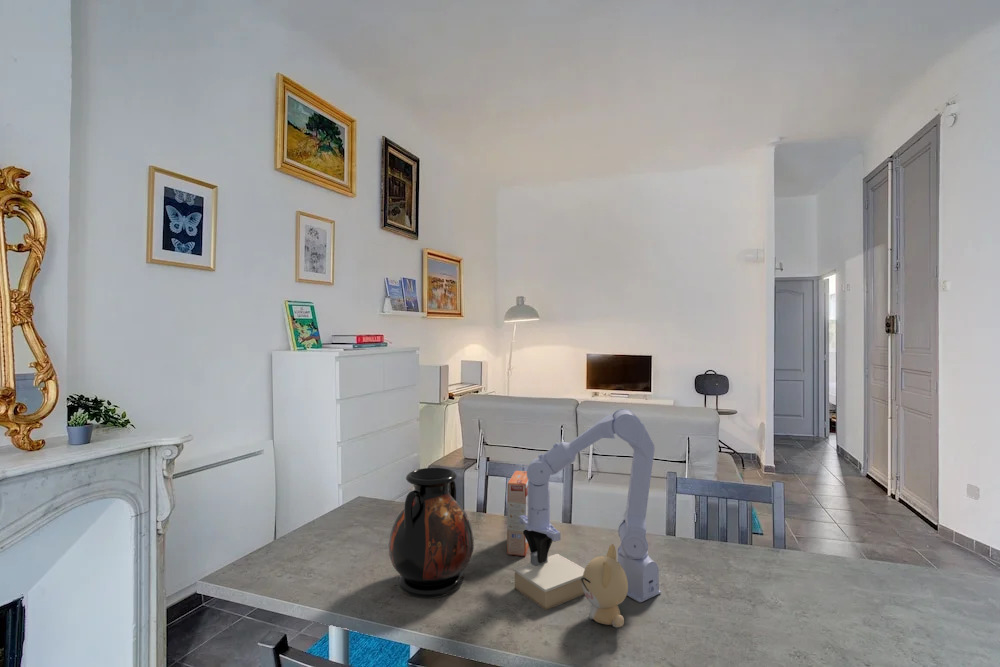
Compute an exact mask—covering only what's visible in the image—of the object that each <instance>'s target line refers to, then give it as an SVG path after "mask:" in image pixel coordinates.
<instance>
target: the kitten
mask: <svg viewBox="0 0 1000 667" xmlns="http://www.w3.org/2000/svg"><path fill="white" fill-rule="evenodd" d="M584 569H585V570H584V573H583V577H582V578H581V581H582V586H583V591H584V595H585V598H586V599H587V601H588V602H589V604H590V605H591V606H590V609H589V613H588V617H589V619H590V620H594V621H595V622H596V623H599V624H601V625H605V626H606V625H607V626H608V625H609V626H610V625H612V626H613V627H614V628H621V627H623V626H624V624H625V619H624V616H623V615H621V610H620V608H619V605H621V604H622V603H623V602H624V600H625V599H626V598H627V592H628V581H627V577H626V574H625V571H624V569H623V568H622V566H621V565H620V564H619V563H618V560H617V552H616V546H615V544H614V543H613V544H612V543H611V544H610V545H609V547H608V549H607V553H606V555H601V556H596V557H594V558H593V559H591V560H590V561H589V562H588V563H587V565H586V566H585V568H584Z"/></svg>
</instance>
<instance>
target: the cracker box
mask: <svg viewBox="0 0 1000 667" xmlns="http://www.w3.org/2000/svg"><path fill="white" fill-rule="evenodd" d="M506 494H507V501H506V502H507V508H506V509H507V511H506V514H507V517H506V518H507V519H506V520H507V521H506V524H507V526H506V531H507V532H506V555H509V556H521V557H526V556H527V553H528V550H529V545H528V542H527V539H526V537H525V536H524V534H523V531H524V530H526V529H525V526H526V525H524V524H519V516H522V515H526V516H528V478H527V470H515V471H514V472H513V474H512V475H511V477H510V479H509V481H508V482H507V493H506Z"/></svg>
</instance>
